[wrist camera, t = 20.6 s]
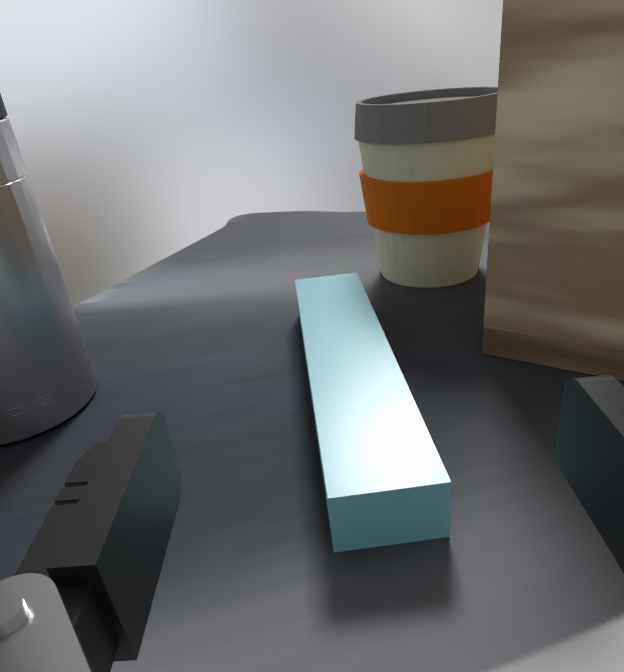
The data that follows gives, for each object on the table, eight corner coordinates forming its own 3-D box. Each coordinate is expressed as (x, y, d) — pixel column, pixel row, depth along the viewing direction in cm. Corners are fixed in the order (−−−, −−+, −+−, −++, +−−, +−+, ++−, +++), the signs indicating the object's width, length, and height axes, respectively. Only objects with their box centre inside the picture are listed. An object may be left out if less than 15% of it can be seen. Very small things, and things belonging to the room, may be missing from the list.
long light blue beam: (461, 558, 21) (411, 189, 22) (337, 575, 21) (290, 203, 22) (378, 455, 44) (354, 275, 44) (318, 463, 44) (295, 283, 44)
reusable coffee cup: (450, 239, 57) (454, 85, 50) (529, 276, 46) (548, 87, 39) (342, 262, 54) (330, 102, 47) (399, 308, 43) (395, 108, 36)
